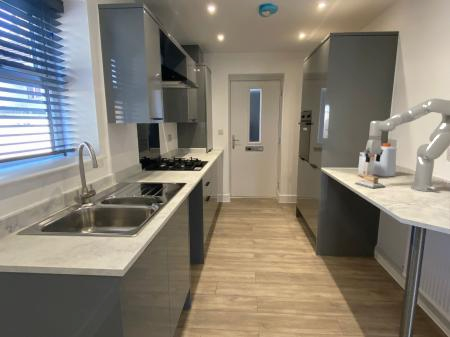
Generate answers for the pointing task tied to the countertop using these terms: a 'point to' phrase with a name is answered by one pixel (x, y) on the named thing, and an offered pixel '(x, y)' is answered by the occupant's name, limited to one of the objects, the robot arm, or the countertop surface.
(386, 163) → the plastic bottle
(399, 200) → the countertop surface
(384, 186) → the locator board
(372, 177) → the oak block
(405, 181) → the countertop surface
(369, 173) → the cracker box
